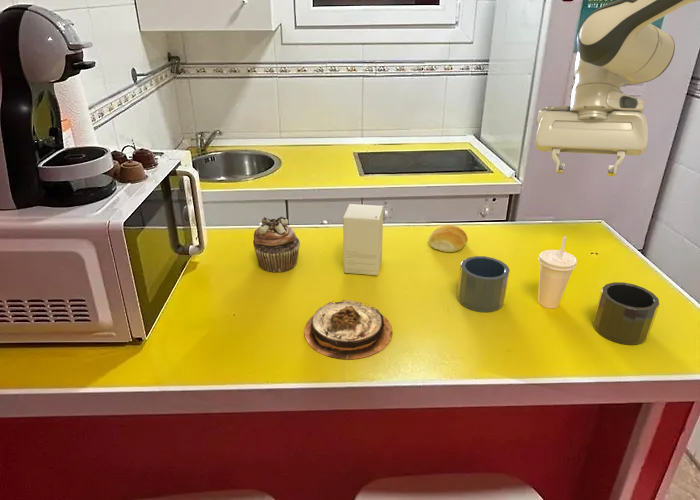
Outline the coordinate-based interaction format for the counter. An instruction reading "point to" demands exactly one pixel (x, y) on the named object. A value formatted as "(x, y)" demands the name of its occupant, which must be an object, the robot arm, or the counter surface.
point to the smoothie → (554, 275)
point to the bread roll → (448, 238)
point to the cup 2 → (625, 313)
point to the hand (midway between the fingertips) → (585, 173)
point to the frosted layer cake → (348, 330)
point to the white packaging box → (363, 239)
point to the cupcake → (276, 245)
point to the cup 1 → (482, 283)
